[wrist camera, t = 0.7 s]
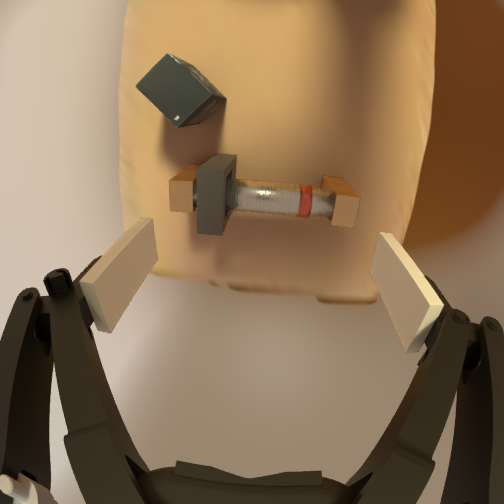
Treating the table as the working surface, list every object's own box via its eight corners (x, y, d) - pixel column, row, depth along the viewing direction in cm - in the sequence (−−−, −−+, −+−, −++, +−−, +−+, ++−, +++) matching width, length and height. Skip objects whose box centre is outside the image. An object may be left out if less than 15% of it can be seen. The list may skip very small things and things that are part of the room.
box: (228, 98, 34) (212, 95, 25) (199, 124, 37) (175, 130, 27) (193, 64, 32) (167, 51, 23) (165, 90, 34) (132, 86, 25)
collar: (214, 203, 42) (197, 233, 33) (216, 153, 38) (196, 169, 29) (233, 204, 42) (221, 235, 32) (236, 154, 38) (223, 170, 29)
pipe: (190, 189, 42) (170, 211, 33) (190, 164, 40) (168, 180, 31) (337, 203, 41) (353, 228, 33) (342, 178, 39) (360, 197, 31)
